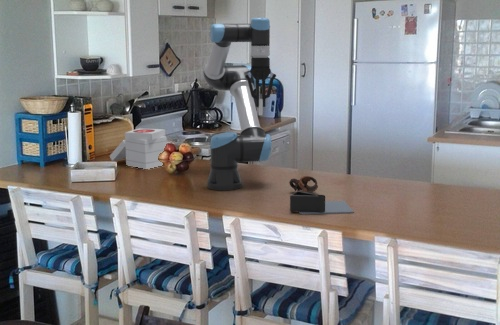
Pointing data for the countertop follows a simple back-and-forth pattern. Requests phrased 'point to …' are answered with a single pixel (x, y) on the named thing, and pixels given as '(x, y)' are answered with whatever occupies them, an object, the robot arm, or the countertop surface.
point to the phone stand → (307, 202)
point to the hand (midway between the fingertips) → (260, 114)
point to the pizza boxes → (141, 148)
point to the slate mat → (333, 208)
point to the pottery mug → (304, 184)
